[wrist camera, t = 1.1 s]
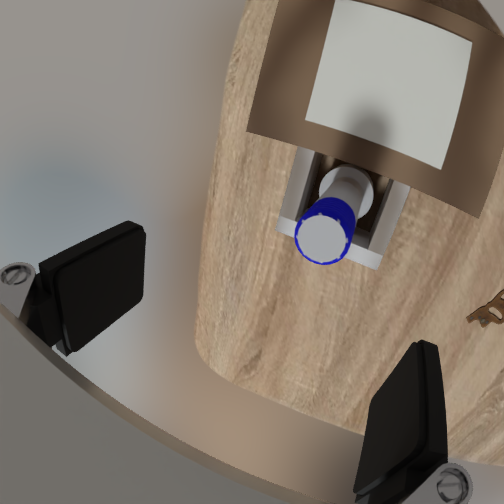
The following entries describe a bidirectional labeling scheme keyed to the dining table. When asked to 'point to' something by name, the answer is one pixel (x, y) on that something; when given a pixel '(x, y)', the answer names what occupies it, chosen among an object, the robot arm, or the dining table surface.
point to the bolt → (334, 215)
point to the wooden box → (367, 152)
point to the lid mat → (390, 80)
